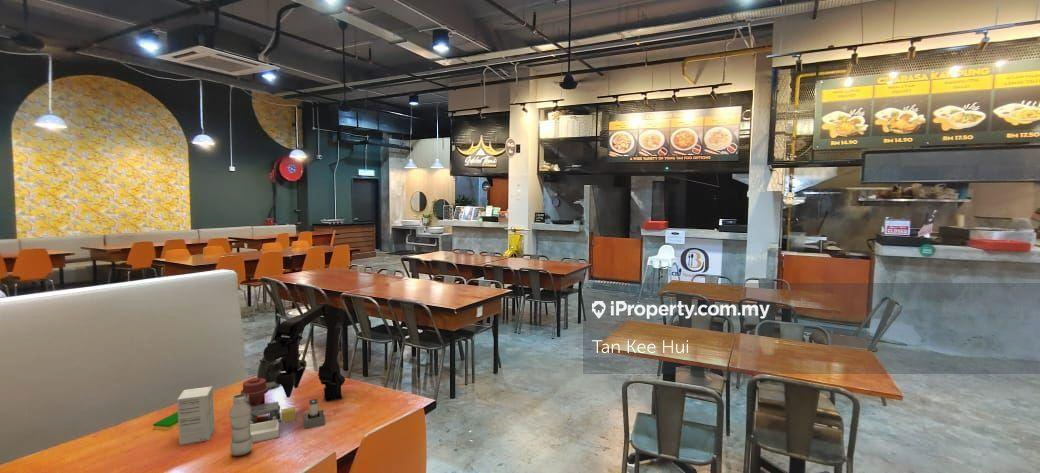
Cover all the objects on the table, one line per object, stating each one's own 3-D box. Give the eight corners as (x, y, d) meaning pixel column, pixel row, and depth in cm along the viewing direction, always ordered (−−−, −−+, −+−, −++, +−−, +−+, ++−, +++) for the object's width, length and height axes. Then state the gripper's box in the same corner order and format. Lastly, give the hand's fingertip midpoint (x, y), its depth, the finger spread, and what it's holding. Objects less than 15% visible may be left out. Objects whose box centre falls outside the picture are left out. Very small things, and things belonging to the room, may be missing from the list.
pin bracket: (322, 417, 186) (322, 410, 186) (324, 424, 180) (324, 417, 180) (303, 421, 183) (303, 414, 183) (304, 428, 177) (304, 421, 177)
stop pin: (317, 420, 184) (317, 398, 183) (318, 423, 181) (317, 401, 181) (309, 422, 182) (308, 399, 182) (310, 425, 180) (309, 402, 179)
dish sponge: (152, 430, 178) (152, 424, 177) (183, 414, 191) (183, 408, 191) (169, 431, 177) (169, 425, 176) (199, 415, 190) (198, 409, 190)
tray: (278, 426, 179) (278, 419, 179) (278, 437, 171) (278, 429, 170) (243, 433, 174) (243, 425, 173) (242, 445, 165) (241, 436, 165)
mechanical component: (252, 402, 201) (274, 403, 200) (235, 413, 191) (258, 413, 190) (251, 374, 200) (273, 375, 199) (234, 383, 190) (257, 384, 189)
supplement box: (185, 433, 174) (183, 389, 173) (215, 428, 177) (213, 385, 176) (178, 445, 165) (176, 399, 164) (209, 440, 169) (207, 394, 168)
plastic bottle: (236, 448, 163) (233, 392, 161) (256, 447, 163) (254, 391, 162) (226, 458, 156) (223, 400, 155) (247, 457, 157) (245, 399, 156)
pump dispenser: (251, 390, 215) (250, 357, 214) (267, 381, 225) (266, 350, 224) (271, 391, 213) (270, 358, 212) (286, 383, 223) (285, 351, 222)
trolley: (280, 411, 192) (279, 388, 191) (280, 422, 183) (279, 397, 182) (246, 418, 186) (245, 393, 186) (244, 429, 177) (243, 403, 176)
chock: (295, 416, 188) (295, 406, 188) (295, 420, 184) (295, 410, 184) (281, 419, 186) (281, 409, 185) (281, 423, 182) (281, 413, 182)
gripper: (277, 347, 190) (278, 384, 191) (259, 362, 172) (261, 403, 173) (306, 345, 192) (307, 383, 193) (291, 360, 174) (293, 401, 175)
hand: (292, 392), depth 184 cm, fingers open, 9 cm apart
